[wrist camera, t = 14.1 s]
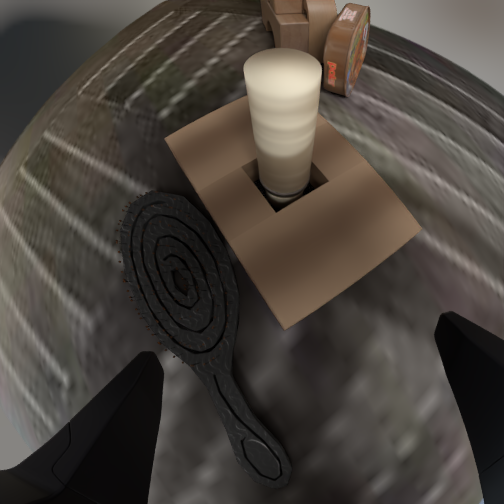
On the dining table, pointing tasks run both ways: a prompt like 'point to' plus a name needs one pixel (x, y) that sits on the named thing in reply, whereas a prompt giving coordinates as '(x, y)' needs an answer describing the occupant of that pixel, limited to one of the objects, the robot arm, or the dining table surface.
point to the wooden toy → (299, 23)
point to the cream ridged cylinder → (283, 119)
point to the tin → (346, 48)
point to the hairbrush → (197, 316)
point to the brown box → (293, 212)
